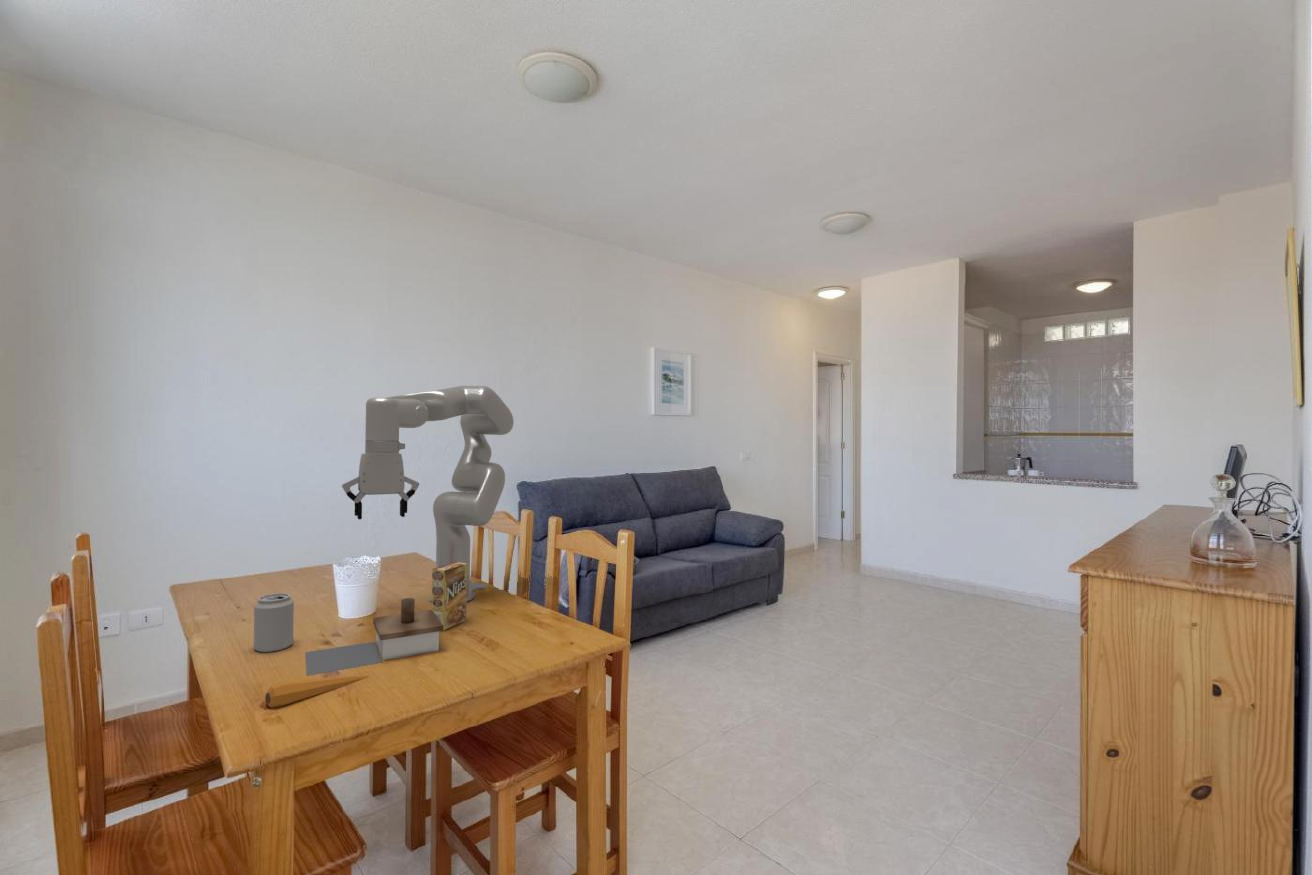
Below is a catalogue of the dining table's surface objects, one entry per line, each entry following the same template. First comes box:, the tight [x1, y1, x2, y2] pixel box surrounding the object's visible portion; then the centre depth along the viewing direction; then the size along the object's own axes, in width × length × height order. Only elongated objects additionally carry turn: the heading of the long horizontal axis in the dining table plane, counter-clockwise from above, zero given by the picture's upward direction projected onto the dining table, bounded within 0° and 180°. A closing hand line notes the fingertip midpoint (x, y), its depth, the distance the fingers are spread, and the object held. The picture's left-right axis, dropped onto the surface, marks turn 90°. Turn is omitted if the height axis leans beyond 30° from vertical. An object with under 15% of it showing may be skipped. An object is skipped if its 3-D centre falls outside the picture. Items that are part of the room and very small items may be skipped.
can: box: [253, 592, 295, 653], centre depth 134 cm, size 8×8×12 cm
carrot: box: [264, 674, 372, 709], centre depth 113 cm, size 20×4×4 cm, turn 140°
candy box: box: [431, 562, 468, 631], centre depth 152 cm, size 9×4×15 cm, turn 160°
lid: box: [372, 597, 444, 641], centre depth 135 cm, size 13×13×6 cm
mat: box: [304, 640, 383, 677], centre depth 129 cm, size 14×14×1 cm
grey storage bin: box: [375, 630, 440, 661], centre depth 135 cm, size 12×12×5 cm
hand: (381, 517), depth 146 cm, fingers open, 9 cm apart
